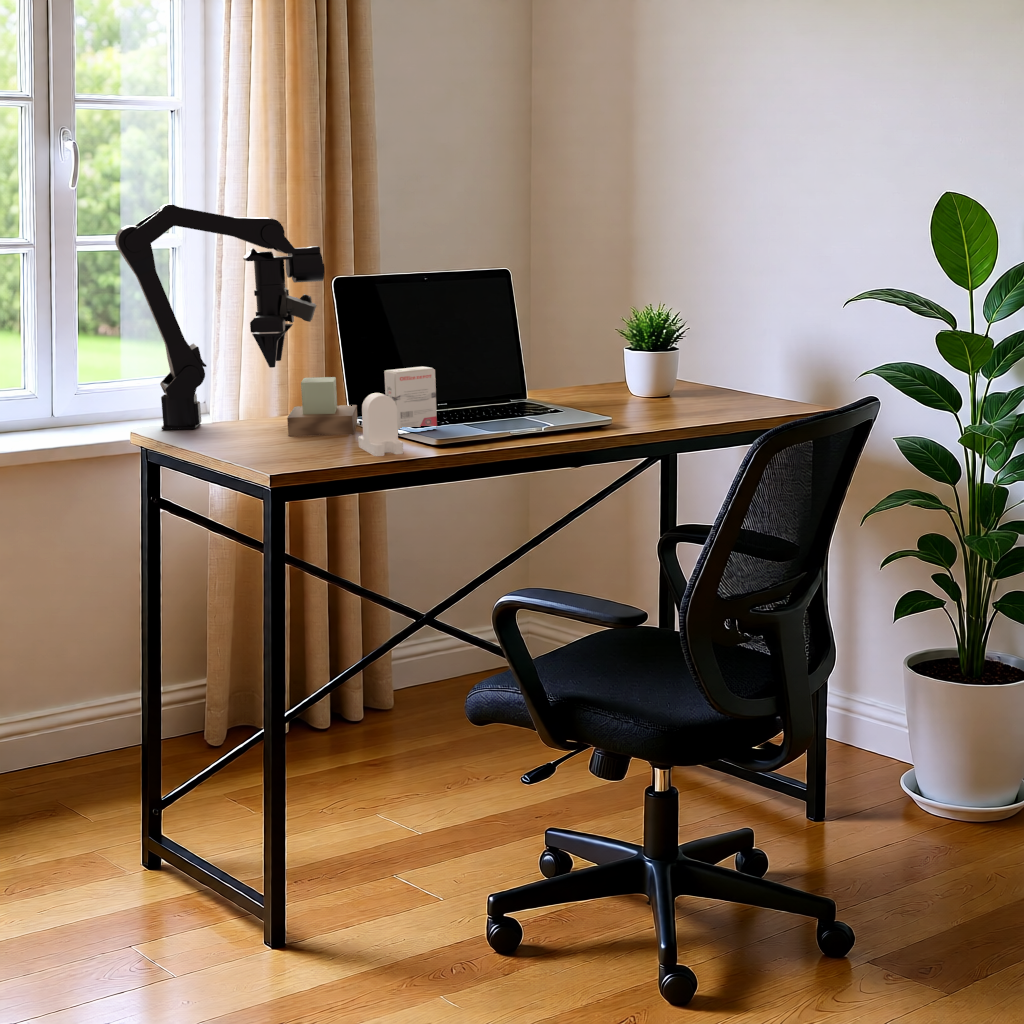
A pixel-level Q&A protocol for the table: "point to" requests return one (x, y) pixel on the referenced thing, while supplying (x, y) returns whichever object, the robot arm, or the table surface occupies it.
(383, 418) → the white rounded upright block
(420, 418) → the ink box
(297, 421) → the walnut block
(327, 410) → the sage cube
